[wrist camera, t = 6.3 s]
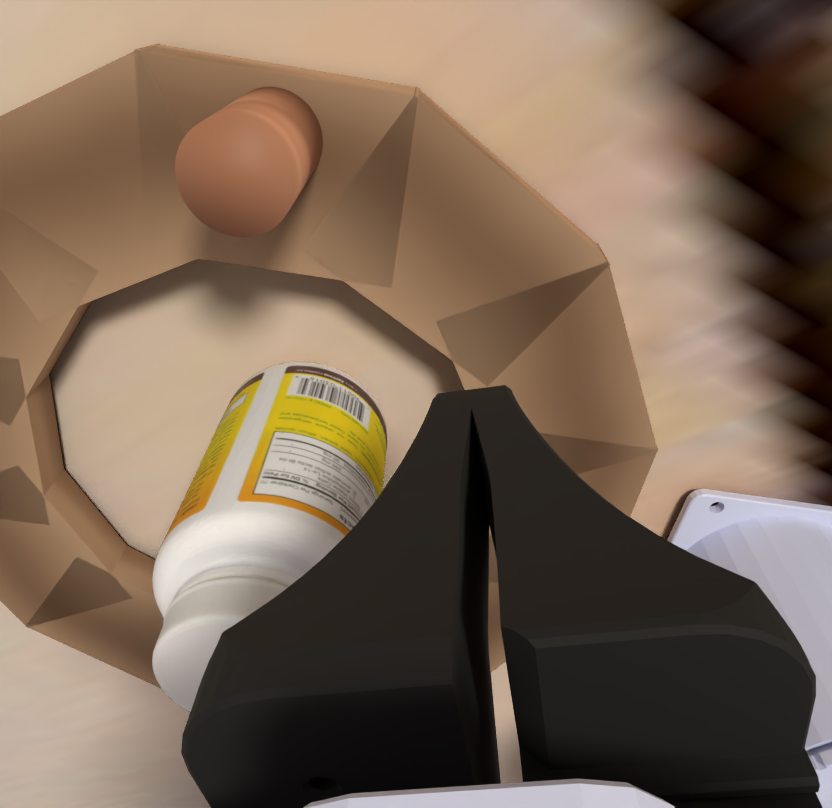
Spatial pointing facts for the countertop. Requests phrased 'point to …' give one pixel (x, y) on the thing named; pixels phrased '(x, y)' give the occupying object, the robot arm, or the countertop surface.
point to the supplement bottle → (263, 508)
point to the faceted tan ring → (288, 252)
